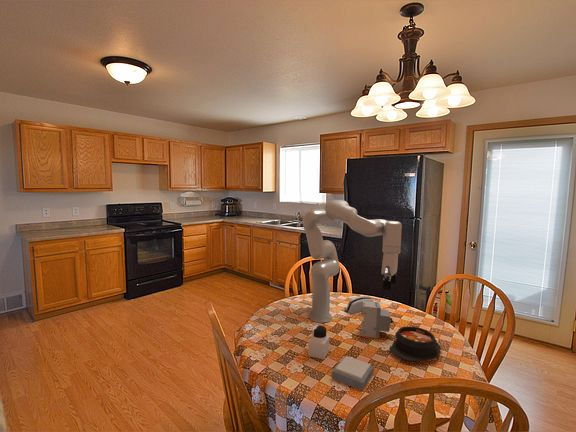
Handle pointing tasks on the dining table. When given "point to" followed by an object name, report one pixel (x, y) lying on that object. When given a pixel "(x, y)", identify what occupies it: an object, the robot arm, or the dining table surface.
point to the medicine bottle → (318, 343)
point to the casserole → (415, 344)
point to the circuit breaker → (374, 319)
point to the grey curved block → (357, 304)
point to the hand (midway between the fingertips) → (389, 286)
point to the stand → (353, 372)
